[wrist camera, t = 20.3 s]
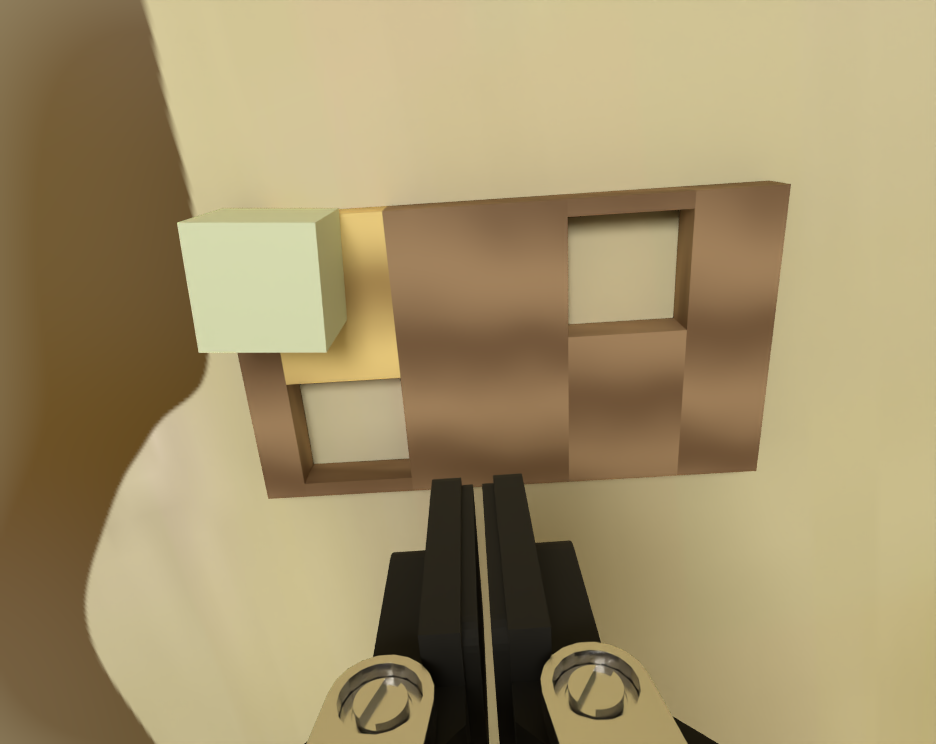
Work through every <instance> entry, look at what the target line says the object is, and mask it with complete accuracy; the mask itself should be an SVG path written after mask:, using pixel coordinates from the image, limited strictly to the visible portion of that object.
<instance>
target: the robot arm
mask: <svg viewBox="0 0 936 744" xmlns="http://www.w3.org/2000/svg"><path fill="white" fill-rule="evenodd" d="M482 489H483V505H484V521H485V537H486V553H487V569H488V585H489V601H490V617H491V632H492V646H493V660H494V673H495V687H496V701H497V714H498V728H499V741H500V744H718V743H716V742H715V741H713V740H711V739H710V738H708V737H706V736H705V735H703V734H701V733H700V732H698V731H696V730H695V729H693V728H691V727H690V726H688V725H686V724H685V723H683V722H681V721H680V720H678V719H676V718H675V717H673V716H672V715H671V713H670V711H669V709H668V708H667V706H666V704H665V702H664V701H663V699H662V697H661V695H660V693H659V692H658V690H657V688H656V686H655V684H654V683H653V681H652V679H651V677H650V675H649V674H648V672H647V671H646V670H645V668H644V667H643V666H642V664H641V663H640V662H639V661H638V660H637V659H636V658H634V657H633V656H632V655H630V654H629V653H628V652H626V651H624V650H622V649H620V648H617V647H615V646H612V645H610V644H604V643H601V641H600V638H599V634H598V631H597V627H596V624H595V620H594V617H593V613H592V610H591V606H590V603H589V599H588V596H587V592H586V589H585V585H584V582H583V578H582V575H581V571H580V568H579V564H578V561H577V557H576V554H575V550H574V547H573V544H572V542H571V541H558V542H543V543H535V540H534V535H533V529H532V524H531V519H530V513H529V508H528V503H527V498H526V492H525V487H524V482H523V477H522V473H518V474H504V475H493V483H485V484H482ZM305 744H489V728H488V707H487V685H486V664H485V643H484V622H483V606H482V593H481V580H480V567H479V555H478V542H477V529H476V516H475V504H474V491H473V484H470V485H462V480H461V477H460V478H445V479H432V485H431V496H430V507H429V518H428V529H427V540H426V550H424V551H409V552H394V553H392V555H391V559H390V564H389V570H388V575H387V581H386V587H385V592H384V598H383V604H382V609H381V615H380V621H379V626H378V632H377V638H376V643H375V649H374V655H373V657H372V658H369V659H366V660H362V661H361V662H359V663H357V664H355V665H354V666H352V667H350V668H348V669H347V670H346V671H345V672H344V673H343V674H342V675H341V676H340V677H339V678H337V679H336V681H335V682H334V684H333V686H332V687H331V689H330V690H329V692H328V694H327V696H326V699H325V701H324V703H323V706H322V708H321V710H320V713H319V715H318V717H317V720H316V722H315V724H314V727H313V729H312V732H311V734H310V736H309V739H308V741H307V742H306V743H305Z"/></svg>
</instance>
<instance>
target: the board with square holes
mask: <svg viewBox="0 0 936 744" xmlns="http://www.w3.org/2000/svg"><path fill="white" fill-rule="evenodd" d="M790 187H791V184H786V183H780V182H774V181H758V182H743V183H728V184H713V185H698V186H683V187H668V188H653V189H638V190H623V191H608V192H593V193H578V194H563V195H548V196H533V197H518V198H503V199H488V200H473V201H458V202H443V203H428V204H413V205H398V206H382V207H367V208H352V209H339V218H340V231H341V245H342V258H343V272H344V285H345V299H346V312H347V321H346V322H345V324H344V326H343V327H342V329H341V330H340V332H339V334H338V335H337V337H336V338H335V340H334V341H333V343H332V345H331V346H330V348H329V349H328V351H327V353H238V357H239V362H240V367H241V372H242V376H243V381H244V386H245V391H246V395H247V400H248V405H249V409H250V414H251V419H252V424H253V428H254V433H255V438H256V442H257V447H258V452H259V457H260V461H261V466H262V471H263V475H264V480H265V485H266V490H267V494H268V499H272V498H289V497H307V496H324V495H342V494H359V493H377V492H394V491H412V490H429V489H431V485H432V479H445V478H460V477H461V480H462V485H470V484H473V487H481V486H482V484H485V483H493V475H504V474H518V473H522V477H523V482H524V484H534V483H551V482H569V481H586V480H604V479H621V478H639V477H656V476H673V475H691V474H708V473H726V472H743V471H756V468H757V460H758V452H759V443H760V435H761V427H762V419H763V410H764V402H765V394H766V385H767V377H768V369H769V361H770V352H771V344H772V336H773V327H774V319H775V311H776V303H777V294H778V286H779V278H780V269H781V261H782V253H783V245H784V236H785V228H786V220H787V211H788V203H789V195H790ZM666 210H680V215H679V232H678V249H677V266H676V283H675V300H674V317H673V318H665V319H649V320H633V321H617V322H601V323H585V324H569V325H568V217H574V216H590V215H605V214H620V213H635V212H650V211H666ZM388 378H401V386H402V395H403V404H404V413H405V422H406V431H407V440H408V449H409V458H410V459H395V460H378V461H361V462H344V463H327V464H313V458H312V453H311V447H310V441H309V436H308V430H307V425H306V419H305V413H304V408H303V402H302V396H301V391H300V385H299V384H306V383H323V382H339V381H355V380H372V379H388Z"/></svg>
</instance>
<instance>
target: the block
mask: <svg viewBox="0 0 936 744" xmlns="http://www.w3.org/2000/svg"><path fill="white" fill-rule="evenodd" d="M177 225H178V231H179V237H180V243H181V249H182V255H183V260H184V267H185V273H186V279H187V285H188V291H189V297H190V302H191V308H192V315H193V321H194V326H195V332H196V338H197V344H198V350H199V353H327V351H328V349H329V348H330V346H331V345H332V343H333V341H334V340H335V338H336V337H337V335H338V334H339V332H340V330H341V329H342V327H343V326H344V324H345V322H346V321H347V312H346V299H345V285H344V272H343V258H342V245H341V231H340V218H339V208H222V209H219V210H215V211H212V212H209V213H206V214H203V215H200V216H197V217H193V218H190V219H187V220H184V221H181V222H178V223H177Z"/></svg>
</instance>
